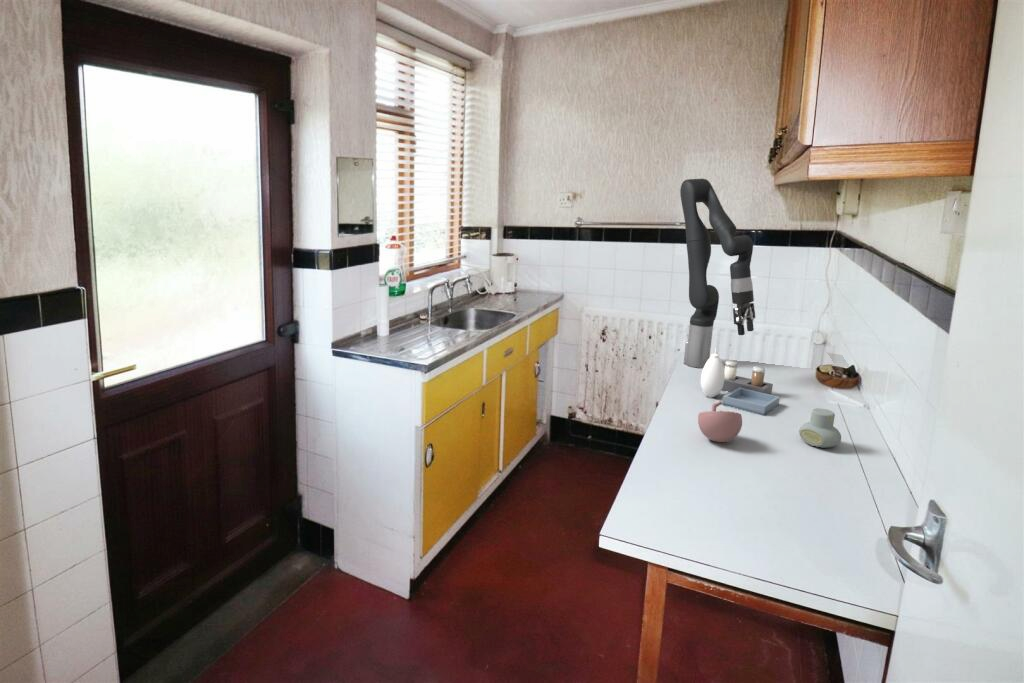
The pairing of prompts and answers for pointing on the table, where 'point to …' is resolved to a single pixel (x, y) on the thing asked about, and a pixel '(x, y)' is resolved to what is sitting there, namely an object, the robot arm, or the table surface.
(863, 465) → the table surface
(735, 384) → the block
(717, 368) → the sauce bottle
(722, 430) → the mortar and pestle
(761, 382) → the cylinder
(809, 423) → the air freshener
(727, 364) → the cylinder
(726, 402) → the parts tray
